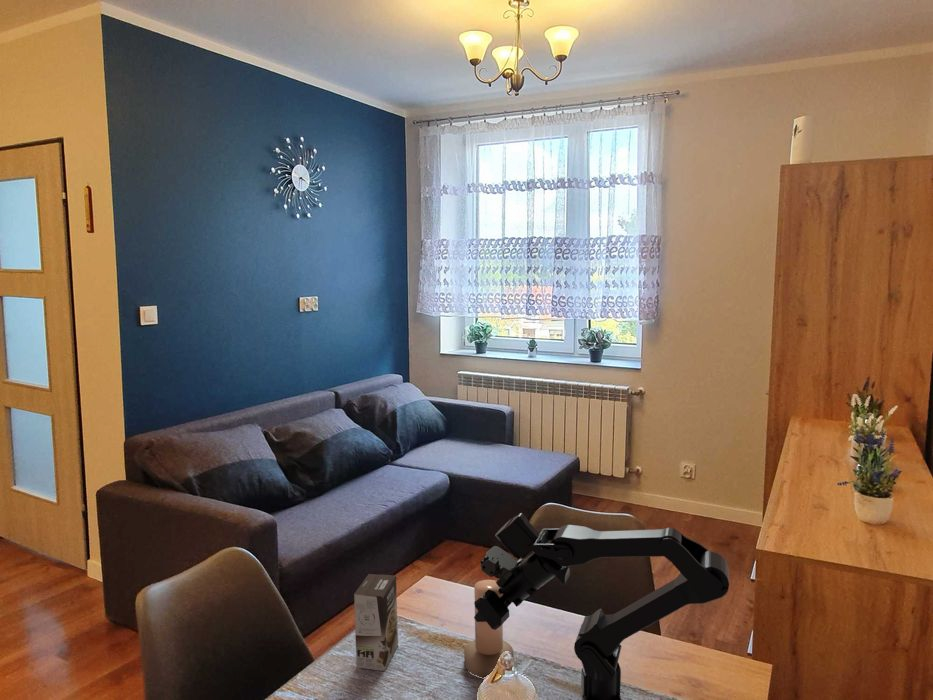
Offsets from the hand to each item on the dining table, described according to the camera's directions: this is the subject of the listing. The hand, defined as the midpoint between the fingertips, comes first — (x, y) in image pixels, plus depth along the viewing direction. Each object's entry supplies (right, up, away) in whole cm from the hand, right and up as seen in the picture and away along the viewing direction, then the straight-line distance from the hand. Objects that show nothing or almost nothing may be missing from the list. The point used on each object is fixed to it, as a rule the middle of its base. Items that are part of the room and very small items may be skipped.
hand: (482, 612), depth 133 cm
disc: (+1, -11, +1) cm, 11 cm away
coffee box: (-22, -11, +4) cm, 25 cm away
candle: (+1, -7, 0) cm, 7 cm away
